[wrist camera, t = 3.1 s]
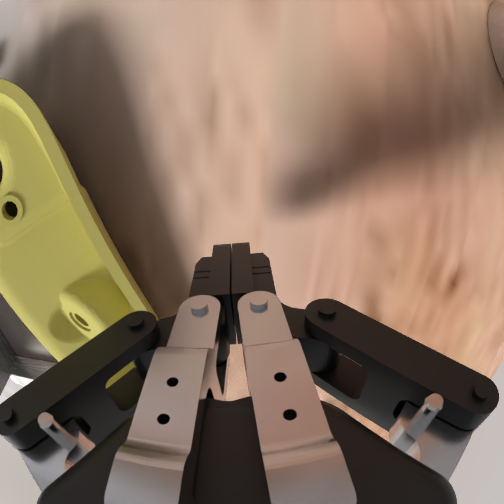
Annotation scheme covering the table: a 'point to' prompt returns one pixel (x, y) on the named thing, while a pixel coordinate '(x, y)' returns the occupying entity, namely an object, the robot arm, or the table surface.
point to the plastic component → (55, 239)
